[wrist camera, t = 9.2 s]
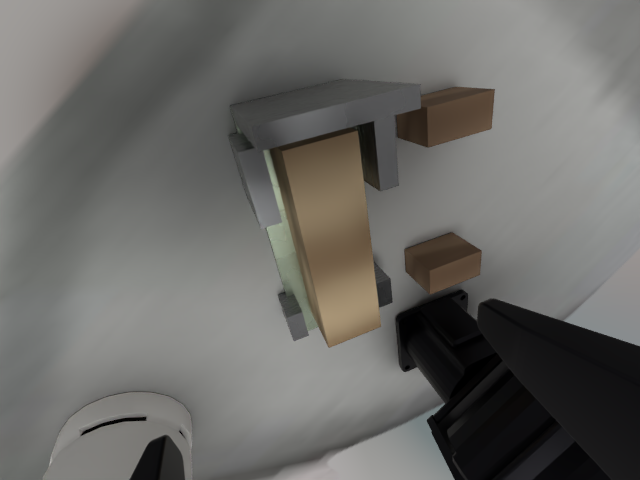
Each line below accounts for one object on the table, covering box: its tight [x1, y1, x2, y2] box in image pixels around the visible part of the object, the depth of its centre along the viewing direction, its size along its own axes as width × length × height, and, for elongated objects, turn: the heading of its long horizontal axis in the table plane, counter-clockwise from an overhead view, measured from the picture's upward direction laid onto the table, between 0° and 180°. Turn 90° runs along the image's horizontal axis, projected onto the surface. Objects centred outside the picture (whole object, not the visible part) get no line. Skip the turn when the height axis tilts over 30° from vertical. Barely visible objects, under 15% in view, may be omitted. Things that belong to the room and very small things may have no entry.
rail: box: [269, 128, 381, 348], centre depth 19 cm, size 12×4×4 cm, turn 10°
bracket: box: [228, 79, 421, 341], centre depth 18 cm, size 15×7×7 cm, turn 10°
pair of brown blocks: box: [397, 87, 495, 294], centre depth 21 cm, size 12×4×3 cm, turn 10°
